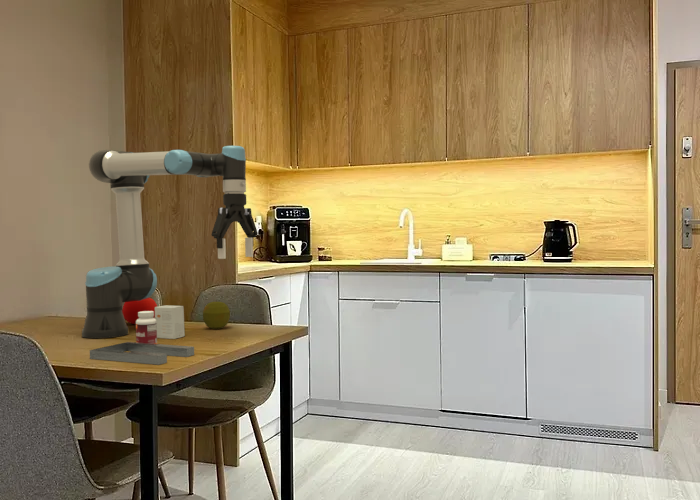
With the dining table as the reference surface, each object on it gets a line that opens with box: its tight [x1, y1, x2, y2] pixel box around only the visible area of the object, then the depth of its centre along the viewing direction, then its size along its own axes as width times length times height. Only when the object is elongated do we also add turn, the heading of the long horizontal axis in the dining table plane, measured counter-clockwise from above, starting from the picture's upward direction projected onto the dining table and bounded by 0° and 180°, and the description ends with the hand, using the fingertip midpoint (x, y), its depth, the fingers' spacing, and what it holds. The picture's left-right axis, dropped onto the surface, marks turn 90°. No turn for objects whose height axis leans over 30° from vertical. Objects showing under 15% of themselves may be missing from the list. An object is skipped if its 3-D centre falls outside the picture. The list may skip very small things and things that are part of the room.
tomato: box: [122, 297, 158, 325], centre depth 266 cm, size 12×13×11 cm
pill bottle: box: [135, 311, 158, 344], centre depth 212 cm, size 6×6×11 cm
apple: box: [202, 301, 231, 330], centre depth 249 cm, size 10×10×11 cm
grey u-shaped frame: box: [89, 341, 195, 366], centre depth 196 cm, size 25×15×2 cm, turn 65°
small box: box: [154, 304, 185, 340], centre depth 231 cm, size 8×6×10 cm
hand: (235, 257), depth 227 cm, fingers open, 13 cm apart
